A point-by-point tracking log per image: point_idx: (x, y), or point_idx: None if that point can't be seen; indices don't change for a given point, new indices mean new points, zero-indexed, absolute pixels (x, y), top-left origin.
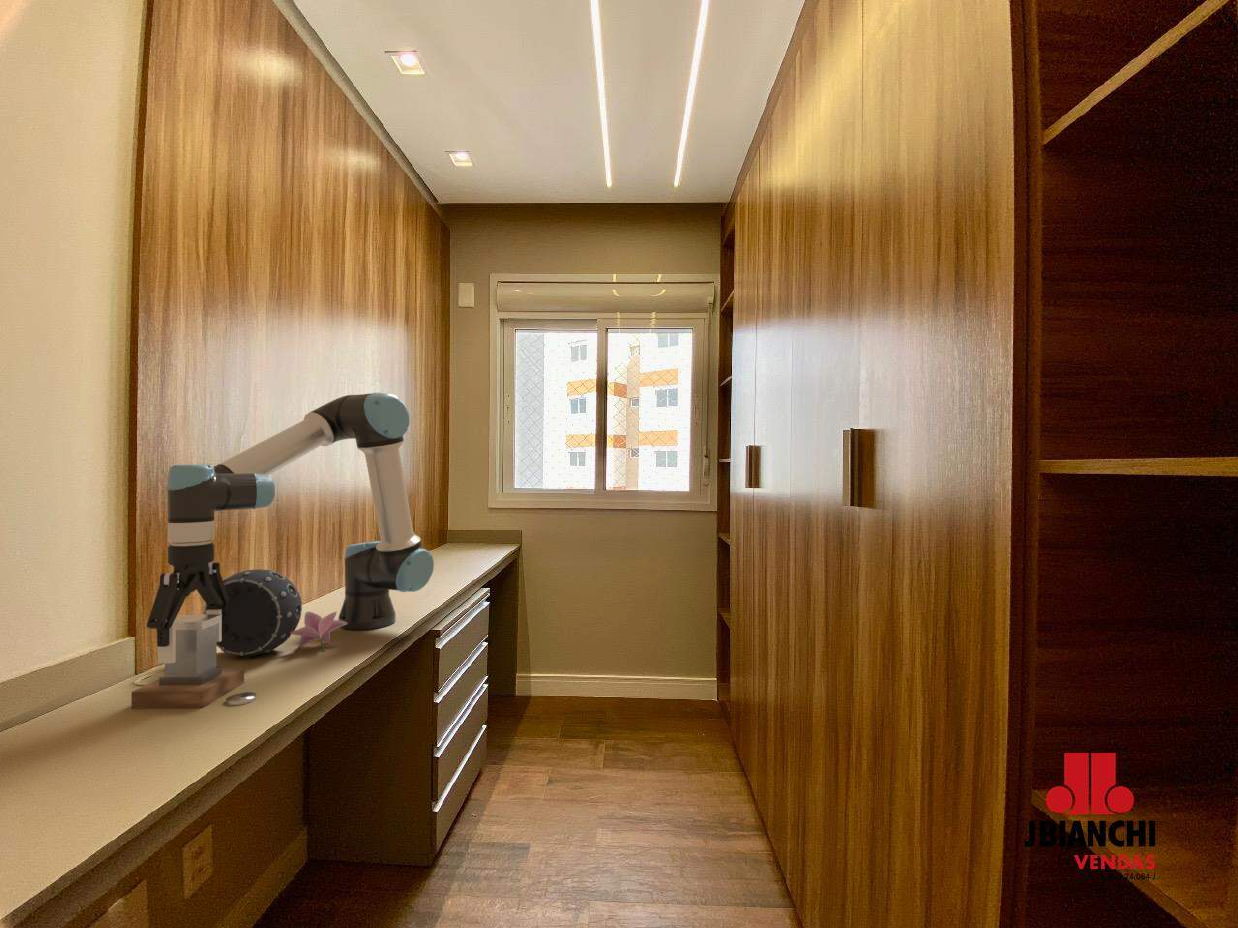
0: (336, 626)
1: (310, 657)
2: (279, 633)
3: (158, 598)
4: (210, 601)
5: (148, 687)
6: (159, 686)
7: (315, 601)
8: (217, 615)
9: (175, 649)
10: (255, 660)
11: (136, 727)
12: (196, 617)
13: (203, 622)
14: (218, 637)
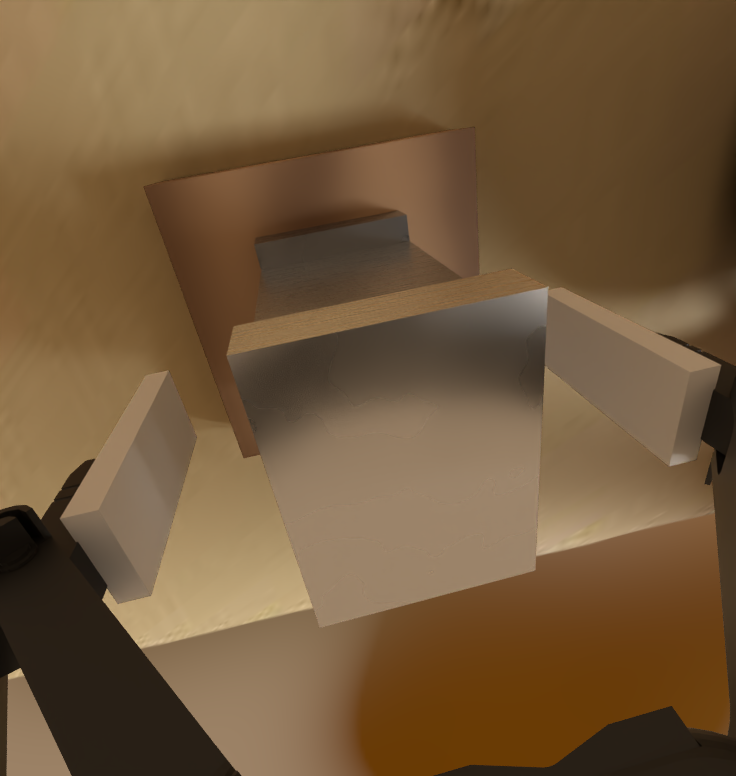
0: None
1: None
2: None
3: None
4: (728, 479)
5: (217, 213)
6: (241, 254)
7: None
8: (503, 572)
9: (182, 480)
10: (708, 228)
11: (47, 368)
12: (440, 500)
13: (333, 617)
14: (550, 367)
